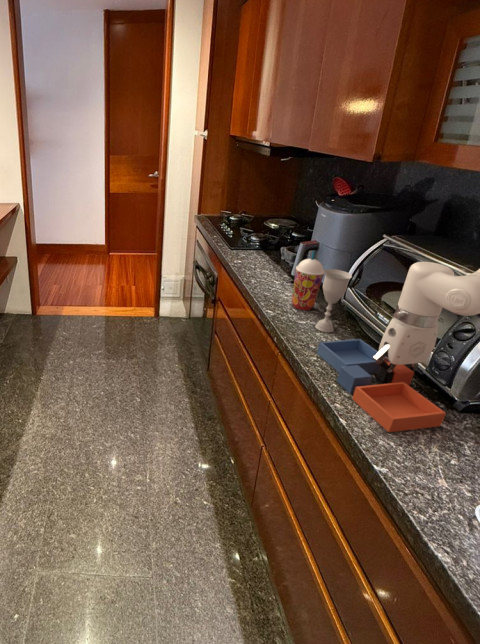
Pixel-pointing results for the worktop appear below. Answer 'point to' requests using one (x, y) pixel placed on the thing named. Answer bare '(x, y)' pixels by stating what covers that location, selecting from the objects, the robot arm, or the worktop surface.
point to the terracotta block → (401, 374)
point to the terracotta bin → (398, 407)
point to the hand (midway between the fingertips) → (393, 381)
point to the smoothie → (307, 283)
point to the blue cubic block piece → (353, 377)
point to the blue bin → (349, 354)
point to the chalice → (332, 294)
